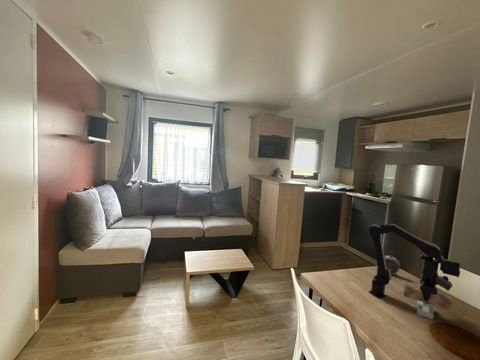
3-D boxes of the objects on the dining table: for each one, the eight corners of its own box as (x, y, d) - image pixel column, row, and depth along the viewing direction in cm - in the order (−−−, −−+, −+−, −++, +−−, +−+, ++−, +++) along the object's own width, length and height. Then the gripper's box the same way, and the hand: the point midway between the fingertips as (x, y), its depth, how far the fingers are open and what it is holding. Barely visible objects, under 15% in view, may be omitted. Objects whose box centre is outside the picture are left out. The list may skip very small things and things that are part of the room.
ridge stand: (416, 313, 110) (418, 304, 110) (417, 304, 118) (418, 295, 118) (432, 319, 107) (434, 309, 106) (431, 309, 114) (433, 300, 114)
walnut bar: (404, 296, 116) (405, 286, 115) (403, 293, 118) (404, 284, 118) (450, 310, 106) (452, 300, 105) (449, 307, 108) (450, 297, 108)
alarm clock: (399, 275, 150) (402, 252, 149) (397, 278, 146) (400, 254, 145) (380, 269, 158) (383, 247, 156) (378, 271, 154) (381, 249, 152)
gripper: (454, 282, 98) (449, 316, 100) (450, 268, 113) (445, 298, 114) (422, 273, 105) (418, 304, 107) (421, 261, 120) (418, 289, 121)
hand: (426, 299), depth 112 cm, fingers closed on walnut bar, 4 cm apart
